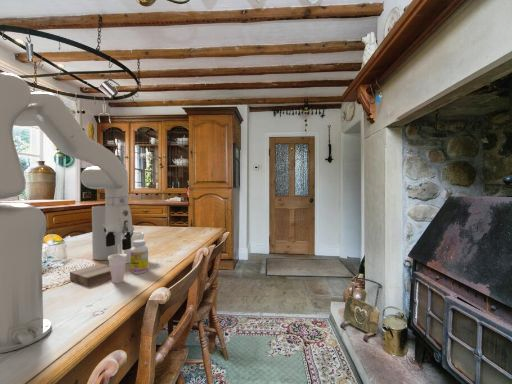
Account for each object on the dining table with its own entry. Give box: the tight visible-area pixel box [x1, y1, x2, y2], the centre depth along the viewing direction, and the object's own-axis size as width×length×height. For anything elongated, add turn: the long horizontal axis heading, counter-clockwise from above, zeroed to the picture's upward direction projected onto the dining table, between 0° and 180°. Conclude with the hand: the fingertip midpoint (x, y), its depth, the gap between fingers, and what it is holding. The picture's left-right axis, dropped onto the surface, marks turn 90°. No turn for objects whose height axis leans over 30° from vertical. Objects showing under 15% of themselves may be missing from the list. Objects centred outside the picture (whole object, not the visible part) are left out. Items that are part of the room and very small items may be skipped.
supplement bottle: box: [130, 239, 149, 275], centre depth 107 cm, size 7×7×13 cm
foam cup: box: [121, 231, 145, 264], centre depth 121 cm, size 10×9×13 cm
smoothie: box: [107, 244, 127, 284], centre depth 96 cm, size 6×6×14 cm
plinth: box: [69, 263, 112, 287], centre depth 100 cm, size 12×12×3 cm
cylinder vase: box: [91, 205, 123, 261], centre depth 128 cm, size 12×12×25 cm
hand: (118, 247), depth 96 cm, fingers open, 9 cm apart
